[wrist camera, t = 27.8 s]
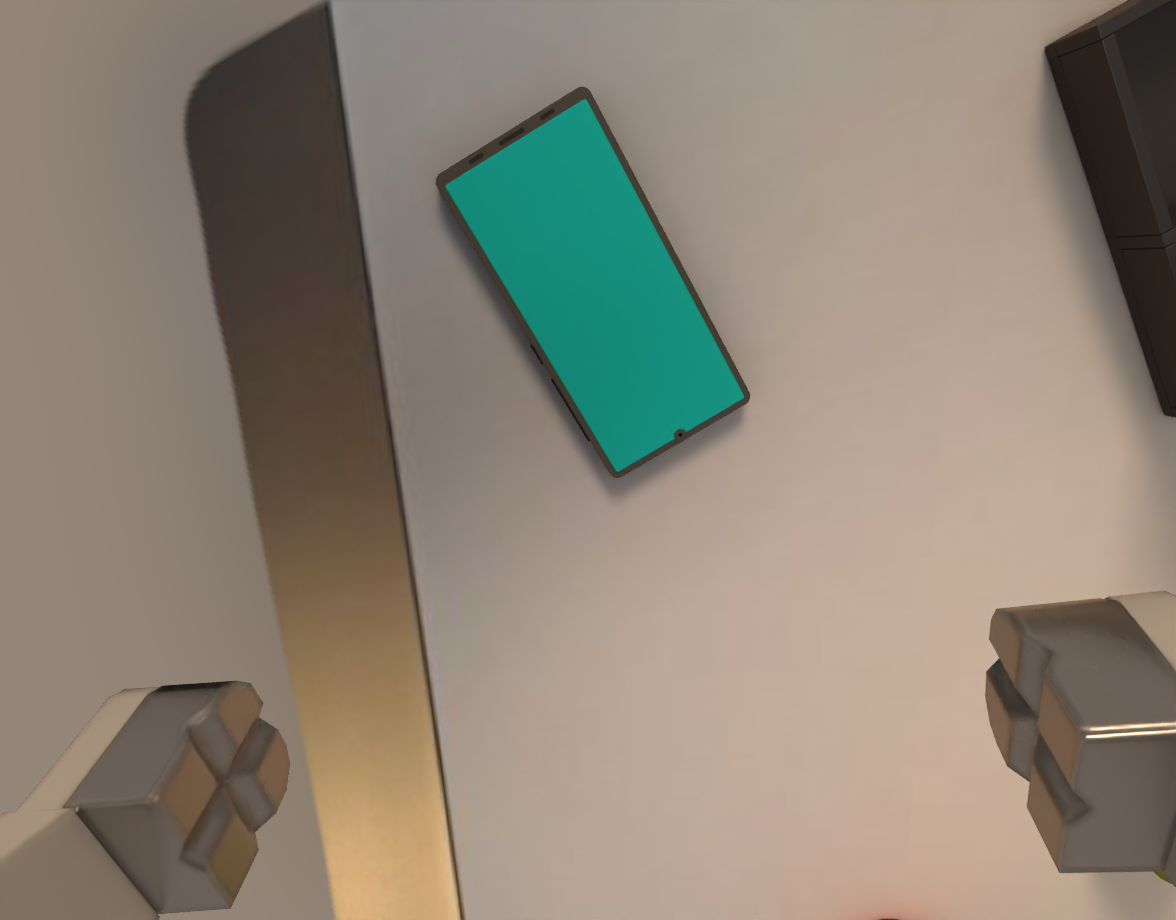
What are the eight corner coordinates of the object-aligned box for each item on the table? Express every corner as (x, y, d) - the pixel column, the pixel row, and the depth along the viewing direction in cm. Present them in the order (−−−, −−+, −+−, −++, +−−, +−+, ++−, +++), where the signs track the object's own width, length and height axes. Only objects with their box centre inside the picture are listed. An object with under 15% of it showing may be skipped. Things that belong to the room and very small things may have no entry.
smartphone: (585, 82, 30) (753, 399, 34) (584, 87, 31) (747, 396, 35) (429, 179, 31) (612, 481, 35) (432, 181, 32) (610, 476, 35)
